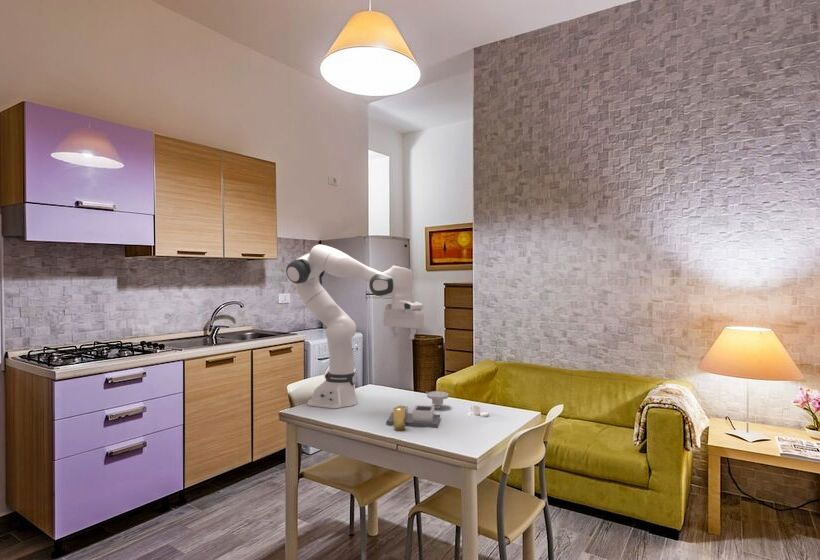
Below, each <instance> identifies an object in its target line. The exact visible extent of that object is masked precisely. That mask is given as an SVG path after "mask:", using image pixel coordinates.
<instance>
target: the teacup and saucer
mask: <svg viewBox="0 0 820 560" xmlns="http://www.w3.org/2000/svg"><path fill="white" fill-rule="evenodd" d="M470 409H471V411H470V412H467V416H468V417H470V418H480V419H481V418H485V417H488V416H489V415H490V414H489V412H487V411H483V412H482V411H481V406H480V405H479V404H473V405H472V406H471V407H470ZM471 414H473V415H474V416H473V415H471Z"/></svg>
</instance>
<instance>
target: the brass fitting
mask: <svg viewBox="0 0 820 560" xmlns="http://www.w3.org/2000/svg"><path fill="white" fill-rule="evenodd" d="M393 412H394V425H392V426H393V427H392V428H393V431H396V432H403V431H405V430H406V426H405V408H404V407H397V406H394V407H393Z"/></svg>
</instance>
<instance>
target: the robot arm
mask: <svg viewBox="0 0 820 560" xmlns="http://www.w3.org/2000/svg"><path fill="white" fill-rule="evenodd" d="M285 272H286V276H287V278H288V280H289V281H290V282H291V283H293V284H295V289H296V291H297V294H298V295H299V297H300V298H301V299H302V302H303V303H304V304H305V306H306V307H307V308H308V310H309V311H310V312H311V313H312V314H313V315H314V317H315V318H316V319H317V320H318V321H320V323H322V325H324V326H325V327H326V331H325V336H326V339H327V340H326V341H327V347H328V356H329V371H327V373H326V374H325V375H324V378H325V380H324V381H323V382H322V383H321V384H319V385H318V386H317V387H315V389H313V393H312V397H311V398H310V399H309V400H308V401H307V404H306V405H307V406H309V407H318V408H325V409H335V410H336V409H340V408H346V407H352V406H355V405H356V404H358V400H357V396H356V389H355V388H356V387H355V383H356V375H355V374H356V373H355V366H354V364H355V360H354V359H355V355H354V354H355V353H354V351H353V350H354V349H353V343H352V339H353V338H354V336H355V335H356V332H357V325H356V322H355V321H354V320H353V319H352V318H351V317H350V316H349V315H348V314H347V313H346V312H345V311H344V310H343V309H342V307H340V306H339V304H337V302H335V300H334V299H333V298H332V296H331V295H330V294H329V293H328V292H327V290H326V289H325V288H324V287H323V285H322V284H321V282H320V281H319V278H322V277H323V276H324V275H325V273H327V274H328V275H332V276H334V277H338V278H352V279H359V280H363V281H365V282H368V283H369V284H368V285H369V290H370V292H371V293H372V295H374V296H377V297H391V303H388V304H386V306H385V307H384V312H383V322H382V323H383V325H384V326H385V327H389V328H390V329H389V330H390V332H391V334H392V336H391V337H392V338H395V339H396V338H398V337H399V336H398V335H399V334H398V332H397V330H396V329H397V328H406V329H409V331H410V334H408V340H414V339H415V335H416V332H417V329H418V330H419V329H423V327H424V325H425V318H424V311H423V307H424V304H423V303H422V302H419V301H417V300H415V299H414V294H413V289H414V277H413V271H412V268H411V267H409V265H408V266H407V265H403V264H393V265H392V266H391V267H390V268H389V269H387V270H385V271H380V270H378V269H376V268H373V267H371V266H369V265H366V264H364V263H362V262H360V261H359V260H357V259H355V258H353V257H352V256H350V255H349V254H347V253H345V252H343V251H341V250H339V249H338V248H334V247H333V246H328V245H326V244H325V245H324V244H320V243H319V244H316V245H314V246H313V247H312V248H311V249H310V252H308V253H306V254H303V255H300V256H299V257H298V258H296V259H294V260H292V261H291V262H289V263H288V264H287V266H286V268H285Z"/></svg>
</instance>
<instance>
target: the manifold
mask: <svg viewBox="0 0 820 560" xmlns="http://www.w3.org/2000/svg"><path fill="white" fill-rule="evenodd" d="M396 407H404V408H405V427H415V428H430V429H432V428H433V429H435V428H437V429H438V426H439V425H440V424H439V423H440V420H441V414H435V411H436V410H435V409H436V408H435V405H420V404H419V405H417V404H416V405H414V407H413V409H412V413H409V406H408V405H396ZM393 425H394V411H393V412H391V413H390V415H389V416H388V418H387V419H386V420H385V426H393Z"/></svg>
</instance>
